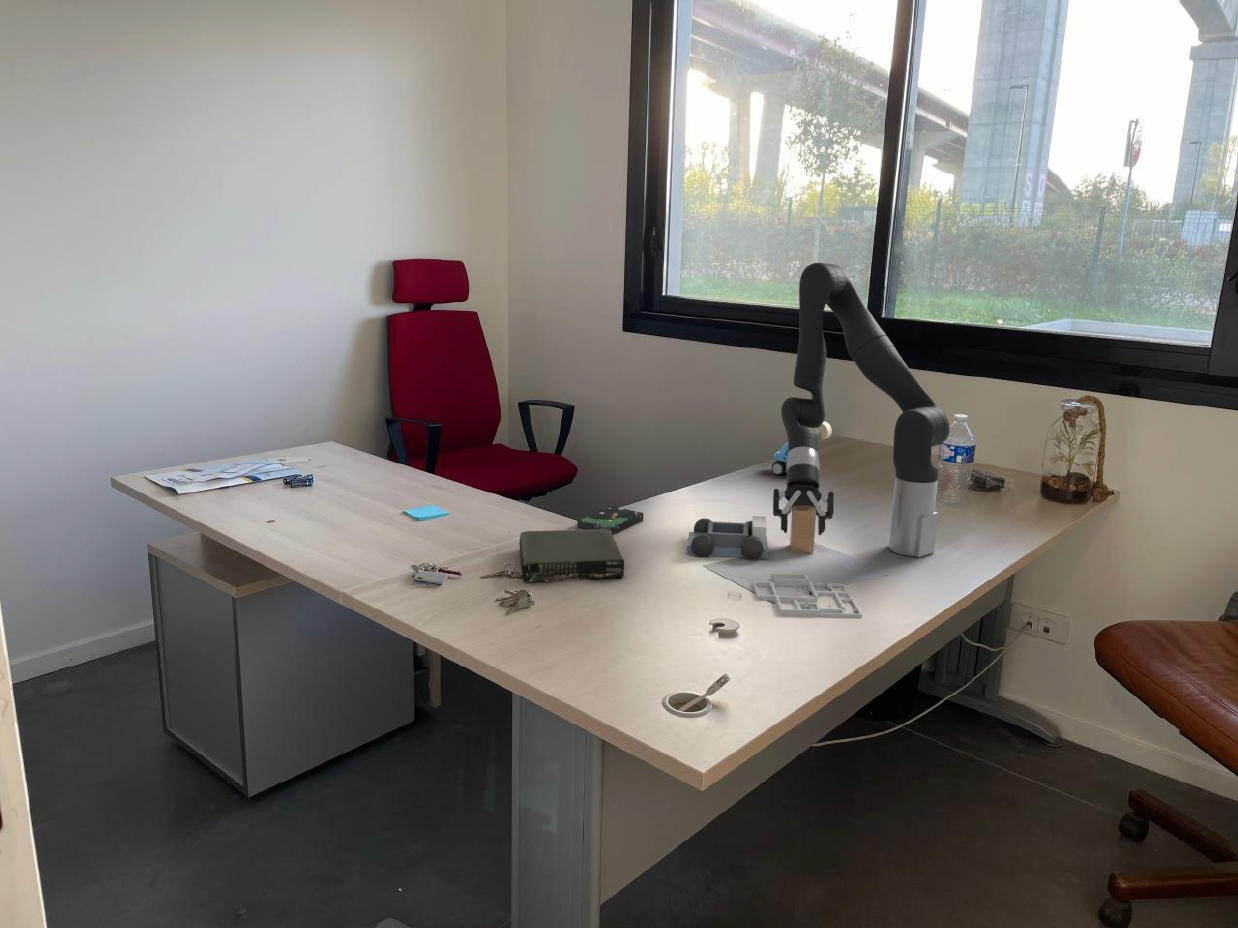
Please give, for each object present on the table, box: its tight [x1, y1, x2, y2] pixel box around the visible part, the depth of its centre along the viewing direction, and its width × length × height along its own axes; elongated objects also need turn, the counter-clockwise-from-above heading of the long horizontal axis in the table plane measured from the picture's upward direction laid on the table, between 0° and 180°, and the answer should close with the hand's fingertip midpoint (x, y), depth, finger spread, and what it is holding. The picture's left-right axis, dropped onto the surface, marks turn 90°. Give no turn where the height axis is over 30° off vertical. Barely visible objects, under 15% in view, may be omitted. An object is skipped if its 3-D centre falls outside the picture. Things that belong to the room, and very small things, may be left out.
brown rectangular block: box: [789, 504, 817, 554], centre depth 211 cm, size 5×5×10 cm
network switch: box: [518, 529, 625, 583], centre depth 201 cm, size 23×23×5 cm
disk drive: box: [576, 505, 644, 536], centre depth 228 cm, size 10×3×15 cm
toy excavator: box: [771, 421, 833, 475], centre depth 275 cm, size 9×17×17 cm, turn 53°
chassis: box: [686, 515, 769, 561], centre depth 211 cm, size 18×13×7 cm
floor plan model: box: [752, 572, 863, 618], centre depth 184 cm, size 19×25×2 cm
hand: (803, 532), depth 210 cm, fingers open, 7 cm apart
